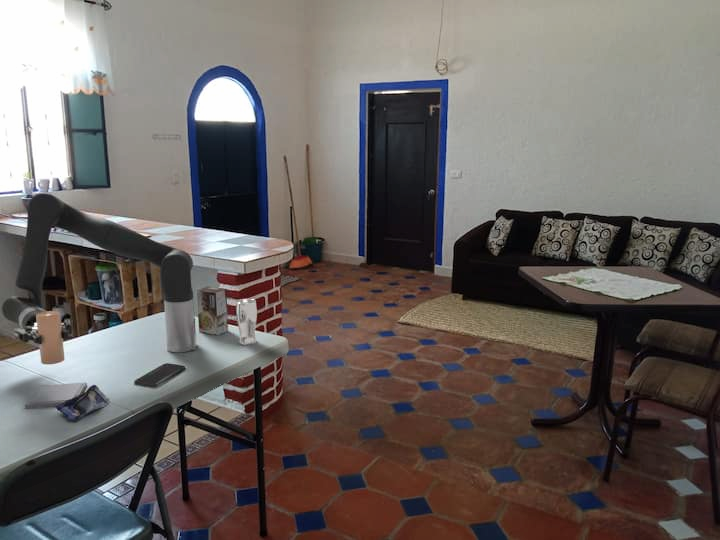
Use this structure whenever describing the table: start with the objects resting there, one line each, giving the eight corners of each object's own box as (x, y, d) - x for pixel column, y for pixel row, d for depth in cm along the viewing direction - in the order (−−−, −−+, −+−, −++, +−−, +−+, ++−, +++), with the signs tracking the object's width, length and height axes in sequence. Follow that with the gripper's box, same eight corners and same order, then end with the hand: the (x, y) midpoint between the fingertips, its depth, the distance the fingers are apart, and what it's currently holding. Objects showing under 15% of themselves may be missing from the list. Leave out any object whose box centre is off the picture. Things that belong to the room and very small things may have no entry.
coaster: (86, 385, 156) (86, 381, 156) (75, 404, 145) (74, 400, 145) (40, 389, 154) (39, 385, 154) (24, 408, 142) (24, 404, 142)
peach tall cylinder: (64, 355, 151) (60, 310, 148) (64, 362, 146) (59, 315, 143) (41, 358, 148) (36, 312, 145) (40, 365, 144) (35, 318, 141)
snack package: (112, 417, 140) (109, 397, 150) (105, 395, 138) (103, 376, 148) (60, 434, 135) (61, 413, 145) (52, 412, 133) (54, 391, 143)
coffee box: (229, 330, 205) (227, 288, 202) (217, 335, 199) (216, 292, 196) (209, 327, 209) (207, 285, 205) (198, 331, 203) (195, 289, 200)
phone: (187, 366, 170) (155, 385, 156) (187, 369, 170) (155, 389, 156) (165, 362, 172) (132, 381, 158) (165, 366, 172) (132, 385, 158)
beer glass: (259, 339, 197) (258, 298, 193) (254, 346, 190) (253, 304, 187) (240, 338, 197) (239, 297, 194) (234, 345, 190) (233, 303, 187)
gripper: (5, 314, 150) (20, 330, 138) (63, 305, 160) (81, 319, 148) (8, 340, 152) (23, 358, 140) (65, 329, 161) (83, 345, 149)
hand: (53, 338), depth 144 cm, fingers closed on peach tall cylinder, 5 cm apart
